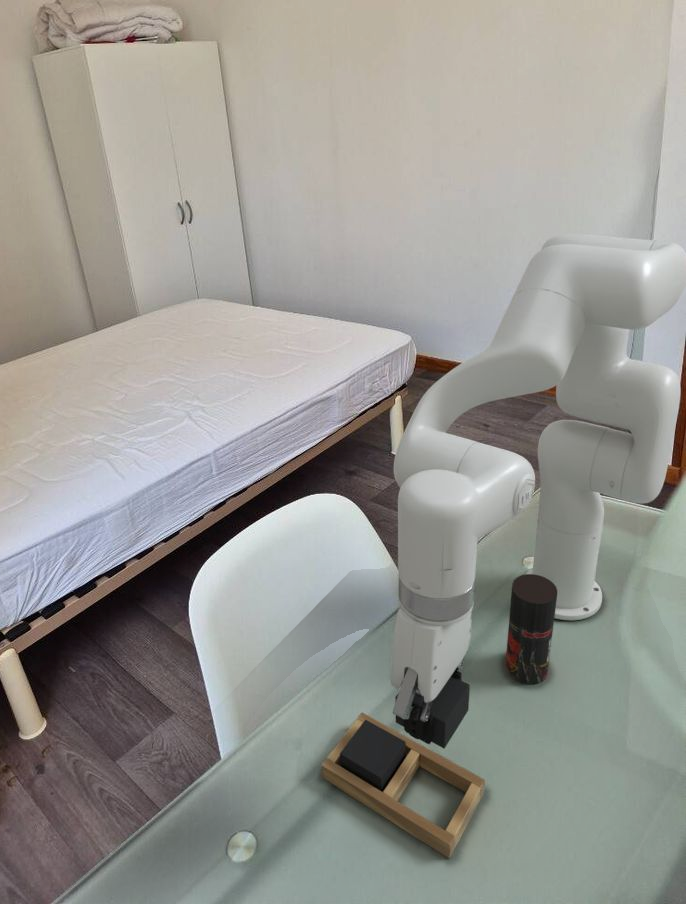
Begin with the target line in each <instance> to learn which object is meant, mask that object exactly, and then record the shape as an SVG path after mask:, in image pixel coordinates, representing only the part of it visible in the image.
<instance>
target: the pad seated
mask: <svg viewBox="0 0 686 904" xmlns="http://www.w3.org/2000/svg"><path fill="white" fill-rule="evenodd" d="M405 758H406V742H405V741H403V740H402V739H400V738H398V737H396V736H394V735H393V734H391V733H389V732H387V731H385V730H384V729H382V728H380V727H378V726H376V725H375V724H373V723H371V722H369V721H367V720H365V721H364V722H363V723H362V725H361V726H360V727H359V729H358V730H357V731H356V733H355V734H354V735H353V737H352V738H351V739H350V741H349V742H348V743H347V745H346V746H345V747H344V749H343V750H342V751H341V753H340V763H341V767H342V768H344V769H346V770H347V771H349V772H350V773H352V774H354V775H355V776H357V777H359V778H360V779H362V780H363V781H365V782H367V783H368V784H370V785H372V786H373V787H375V788H376V789H378V790H380V791H381V792H383V791H384V790H385V788H386V787H387V785H388V784H389V782H390V781H391V779H392V778H393V776H394V775H395V773H396V772H397V770H398V769H399V767H400V766H401V764H402V762H403V761H404V759H405Z"/></svg>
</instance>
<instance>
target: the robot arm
mask: <svg viewBox="0 0 686 904" xmlns="http://www.w3.org/2000/svg"><path fill="white" fill-rule="evenodd" d="M685 287H686V251H685V249H684V248H683V247H682V246H681V245H680V244H678V243H676V242H672V241H665V240H657V239H643V238H632V237H621V236H611V235H599V234H589V233H588V234H587V233H566V234H558V235H554V236H552V237H551V238H549V239H547V240H546V241H545V242H544V244H543V245H542V247H541V249H540V250H539V251H538V252H535V254H534V255H533V257H531V259H530V261H529V262H528V264H527V266H526V268H525V270H524V272H523V274H522V277H521V279H520V281H519V283H518V285H517V287H516V289H515V291H514V294H513V295H512V297H511V300H510V302H509V304H508V306H507V309H506V311H505V313H504V315H503V317H502V319H501V321H500V324H499V326H498V328H497V330H496V331H495V335H494V337H493V339H492V341H491V343H490V345H489V346H488V347H487V348H486V349H485V350H483V351H481V352H480V353H478V354H476V355H473V356H472V357H470V358H468V359H466V360H464V361H463V362H461V363H460V364H458V365H457V366H455V367H454V368H452V369H451V370H450V371H448V372H447V373H445V374H444V375H442V377H440V378H439V379H438V380H437V381H435V383H433V384H432V385H431V386H430V387H429V388H428V389H427V390H426V391H425V393H424V394H423V395H422V396H421V398H420V400H419V401H418V403H417V404H416V407H415V409H414V411H413V413H412V415H411V418H410V419H409V421H408V423H407V425H406V427H405V429H404V431H403V434H402V436H401V438H400V440H399V443H398V446H397V448H396V451H395V455H394V460H393V477H394V480H395V482H396V484H397V486H398V487H399V492H398V496H397V569H398V570H397V572H398V573H397V576H398V577H397V578H398V579H397V583H398V587H397V588H398V593H397V594H398V596H397V599H398V603H399V608H398V610H397V614H396V618H395V622H394V628H393V635H392V643H391V656H390V658H391V659H390V683H391V686H392V687H393V688H395V689H397V690H399V691H398V693H399V694H398V693H397V694H398V697H397V700H396V703H394V706H393V709H392V714H393V715H394V716H396V715H397V716H398V717H400V718H402V719H404V727H403V730H404V732H405V733H407V734H408V735H409V736H410V737H412V738H413V739H415V740H420V741H421V742H423V743H425V744H426V745H430V744H431V743H433V742H432V740H433V715H432V714H431V713H430V710H431V705H432V700H434V699H435V698H436V697H437V695H438V694H439V693H440V691H441V690H442V688H443V687H444V685H445V684H446V683H447V681H448V680H449V678H450V677H451V676H452V677H455V678H457V679H459V680H461V681H462V675H463V674H462V673H463V672H461V671H462V669H463V667H464V664H465V661H464V657H465V656H466V654H467V651H468V649H469V648H470V643H471V636H472V611H473V609H474V606H475V605H474V604H475V587H476V569H477V556H478V555H477V552H478V542H479V540H480V539H481V538H482V537H484V536H487V535H488V534H490V533H492V532H493V531H496V530H497V529H499V528H501V527H503V526H504V525H506V524H508V523H509V522H511V521H512V520H513V519H515V518H516V517H517V516H519V515H520V514H522V513H523V512H524V511H525V510H526V509H527V508H528V506H529V505H530V503H531V501H532V499H533V496H534V492H535V487H536V474H535V470H534V467H533V465H532V464H531V462H529V460H527V458H525V457H524V456H522V455H520V454H518V453H516V452H513V451H510V450H507V449H504V448H501V447H496V446H493V445H489V444H485V443H482V442H480V441H476V440H473V439H469V438H466V437H463V436H458V435H455V434H452V433H448V430H449V428H450V427H451V426H452V425H453V423H455V421H456V420H457V419H458V418H459V417H461V416H462V415H463V414H465V413H466V412H467V411H469V410H472V409H474V408H475V407H478V406H479V405H483V404H486V403H489V402H490V403H491V402H493V401H494V402H495V401H499V400H504V399H509V398H515V397H520V396H525V395H530V394H531V395H532V394H534V393H540V392H545V391H547V390H550V389H552V388H555V387H556V388H555V398H556V399H555V400H556V404H557V406H558V407H559V409H560V410H561V411H562V412H563V413H566V414H568V415H570V416H573V417H575V418H579V419H583V420H587V421H590V423H589V422H586V421H582V420H576V419H559V420H555V421H552V422H551V423H549V424H547V426H546V427H544V429H543V430H542V432H541V434H540V435H539V436H540V437H539V439H538V443H537V463H538V471H539V501H538V512H537V522H536V532H535V541H534V552H533V563H532V568H530V569H529V570H527V572H526V573H525V574H524V575H526V574H534V575H539V576H542V577H545V578H547V579H549V580H550V581H551V582H553V583H554V585H555V586H556V588H557V601H556V609H555V617H554V619H557V620H561V621H562V620H563V621H578V620H579V621H580V620H585V619H588V618H590V617H592V616H594V615H595V614H596V613H597V612H598V611H599V610H600V608H601V606H602V603H603V592H602V589H601V587H600V585H599V584H598V582H597V581H596V580H595V579H596V572H597V566H598V560H599V553H600V547H601V539H602V533H603V526H604V519H605V505H604V502H603V499H602V496H601V495H605V496H608V497H612V498H615V499H619V500H621V501H626V502H629V503H634V504H648V503H651V502H653V501H654V500H655V499H656V498H657V497H658V496H659V495H660V493H661V491H662V489H663V487H664V483H665V480H666V476H667V472H668V467H669V463H670V457H671V452H672V446H673V441H674V437H675V430H676V425H677V420H678V416H679V409H680V403H681V393H682V392H681V390H682V389H681V383H680V378H679V376H678V375H677V373H676V372H675V370H673V369H672V368H670V367H668V366H665V365H663V364H660V363H654V362H649V361H644V360H638V359H633V358H630V357H629V356H628V352H627V349H628V342H629V335H630V332H631V331H630V330H632V331H635V330H637V331H638V330H642V329H645V328H647V327H649V326H651V325H652V324H654V323H655V322H656V321H657V320H659V319H660V318H662V317H663V316H664V315H665V314H667V313H668V312H670V311H671V310H672V309H673V308H674V307H675V306H676V305H677V302H679V300H680V298H681V296H682V294H683V292H684V290H685ZM591 422H595V423H599V424H595V423H591ZM600 424H602V425H600ZM605 425H607V426H605ZM608 426H611V427H616V428H621V429H624V430H628V431H629V432H627V431H623V430H619V429H614V428H611V427H608ZM415 694H416V695H418V696H420V697H422V698H423V699H424V701H423V705H422V706H421V705H419V704H417V703H415V702H413V699H414V696H415Z"/></svg>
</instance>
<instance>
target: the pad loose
mask: <svg viewBox="0 0 686 904" xmlns="http://www.w3.org/2000/svg"><path fill="white" fill-rule="evenodd" d="M470 688H471V684H470V683H468V682H466V681H463V680H462V679H461V680H459V679H457V678H455V677H452V676H451V677H450V678H449V680H448V681H447V683H446V684H445V685H444V687H443V688H442V690H441V691H440V693H439V694H438V695H437V697H436V698H435V699H434V700H432V705H431V710H430V713H431V714H432V715H433V740H432V742H431V743H433V744H434V745H436V746H438V747H440V748H442V749H446V747H447V746H448V744H449V742H450V740H451V739H452V738H453V736H454V735H455V733H456V731H457V729H458V728H459V726H460V725H461V723H462V721H463V720H464V718H465V716H466V715H467V713H468V712H469V708H470V707H469V706H470ZM398 694H399V692H397V694H396V695H395V701H394V702H395V703H396V700H397V697H398ZM423 701H424V699H423V698H422V697H420V696H418V695H416V694H415V696H414V699H413V702H415V703H417V704H419V705H421V706H422V705H423ZM395 703H394V704H395ZM395 724H398V725H399V726H401V727H403V728H404V719H402V718H400V717H398V716H397V715H395Z"/></svg>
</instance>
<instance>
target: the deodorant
mask: <svg viewBox="0 0 686 904" xmlns="http://www.w3.org/2000/svg"><path fill="white" fill-rule="evenodd" d="M525 574H526V573H525ZM525 574H522V575H519V576H517V577H516V578H514V580H513V581H512V583H511V594H510V605H509V618H508V630H507V639H506V640H507V641H506V653H505V666H504V667H505V671H506V672H507V675H508V676H510V678H512V679H513V680H514V681H516V682H518V683H520V684H524V685H530V686H531V685H532V686H534V685H538V684H541V683H543V682H544V681H545V680H546V679H547V676H548V673H549V666H550V658H551V649H552V642H553V640H552V639H553V633H554V626H555V625H554V624H555V618H554V617H555V609H556V601H557V588H556V586H555V585H554V583H553V582H551V581H550V580H549V579H547V578H545V577H542V576H539V575H534V574H526V575H525Z"/></svg>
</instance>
